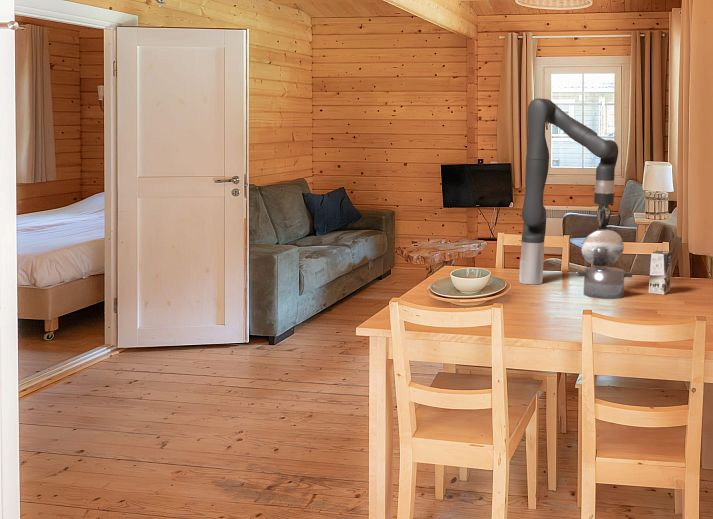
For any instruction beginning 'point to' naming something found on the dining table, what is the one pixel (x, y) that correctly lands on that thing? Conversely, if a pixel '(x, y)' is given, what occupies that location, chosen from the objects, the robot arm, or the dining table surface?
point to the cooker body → (603, 282)
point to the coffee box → (660, 272)
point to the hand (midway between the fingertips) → (602, 235)
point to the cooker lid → (602, 247)
